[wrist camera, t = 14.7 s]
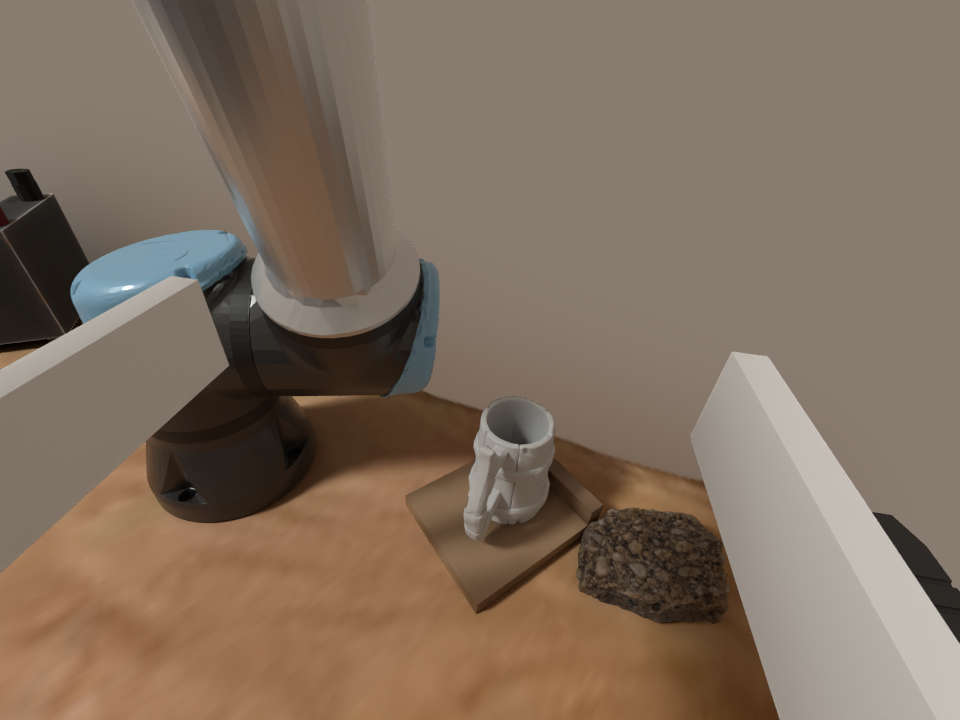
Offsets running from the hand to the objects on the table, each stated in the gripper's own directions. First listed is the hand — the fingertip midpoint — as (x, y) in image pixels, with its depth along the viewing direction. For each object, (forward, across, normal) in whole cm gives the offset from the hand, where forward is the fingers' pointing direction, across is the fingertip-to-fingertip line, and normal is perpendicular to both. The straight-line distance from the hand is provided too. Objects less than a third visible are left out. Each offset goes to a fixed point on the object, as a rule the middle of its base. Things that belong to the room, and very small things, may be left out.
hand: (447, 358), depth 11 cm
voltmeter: (+34, -72, -30) cm, 85 cm away
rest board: (+16, +2, -30) cm, 34 cm away
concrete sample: (+13, +15, -30) cm, 36 cm away
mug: (+16, +2, -29) cm, 33 cm away
